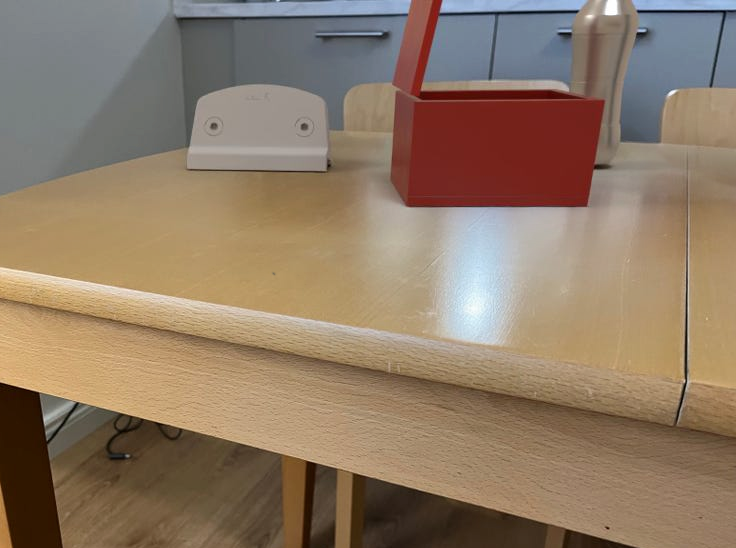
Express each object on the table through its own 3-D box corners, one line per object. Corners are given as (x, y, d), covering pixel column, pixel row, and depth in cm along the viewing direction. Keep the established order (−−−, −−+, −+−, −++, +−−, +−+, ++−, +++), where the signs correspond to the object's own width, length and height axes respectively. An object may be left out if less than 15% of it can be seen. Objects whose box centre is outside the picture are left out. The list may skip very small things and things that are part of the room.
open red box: (543, 180, 78) (556, 89, 74) (587, 206, 66) (605, 99, 63) (390, 180, 79) (395, 90, 75) (407, 206, 67) (414, 101, 63)
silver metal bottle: (618, 171, 82) (655, -36, 74) (552, 169, 84) (581, -33, 76) (613, 162, 87) (647, -31, 79) (551, 160, 89) (578, -29, 81)
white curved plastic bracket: (183, 168, 86) (186, 79, 85) (193, 176, 91) (196, 91, 90) (329, 171, 83) (334, 79, 83) (331, 178, 88) (336, 91, 87)
